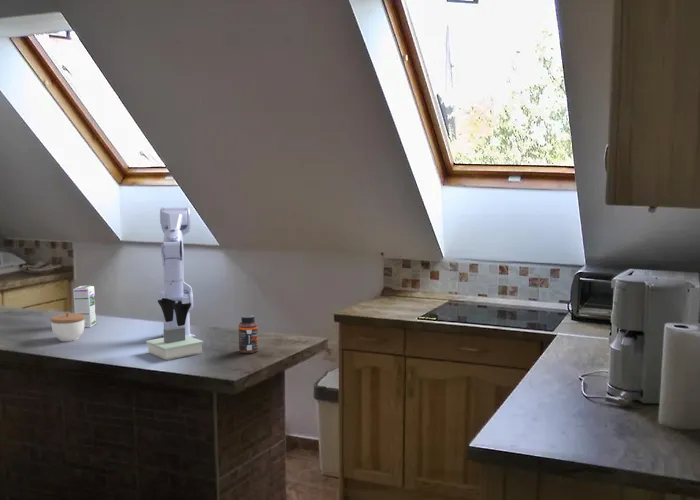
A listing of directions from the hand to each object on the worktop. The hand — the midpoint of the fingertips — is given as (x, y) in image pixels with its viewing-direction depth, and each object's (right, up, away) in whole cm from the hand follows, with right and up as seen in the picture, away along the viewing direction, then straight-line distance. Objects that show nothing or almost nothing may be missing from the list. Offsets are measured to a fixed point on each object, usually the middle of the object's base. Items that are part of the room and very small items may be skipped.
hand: (175, 323), depth 223 cm
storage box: (0, -9, +1) cm, 9 cm away
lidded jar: (-41, -8, +20) cm, 46 cm away
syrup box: (-42, -5, +40) cm, 58 cm away
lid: (0, -6, +1) cm, 6 cm away
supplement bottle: (+22, -9, +2) cm, 24 cm away
